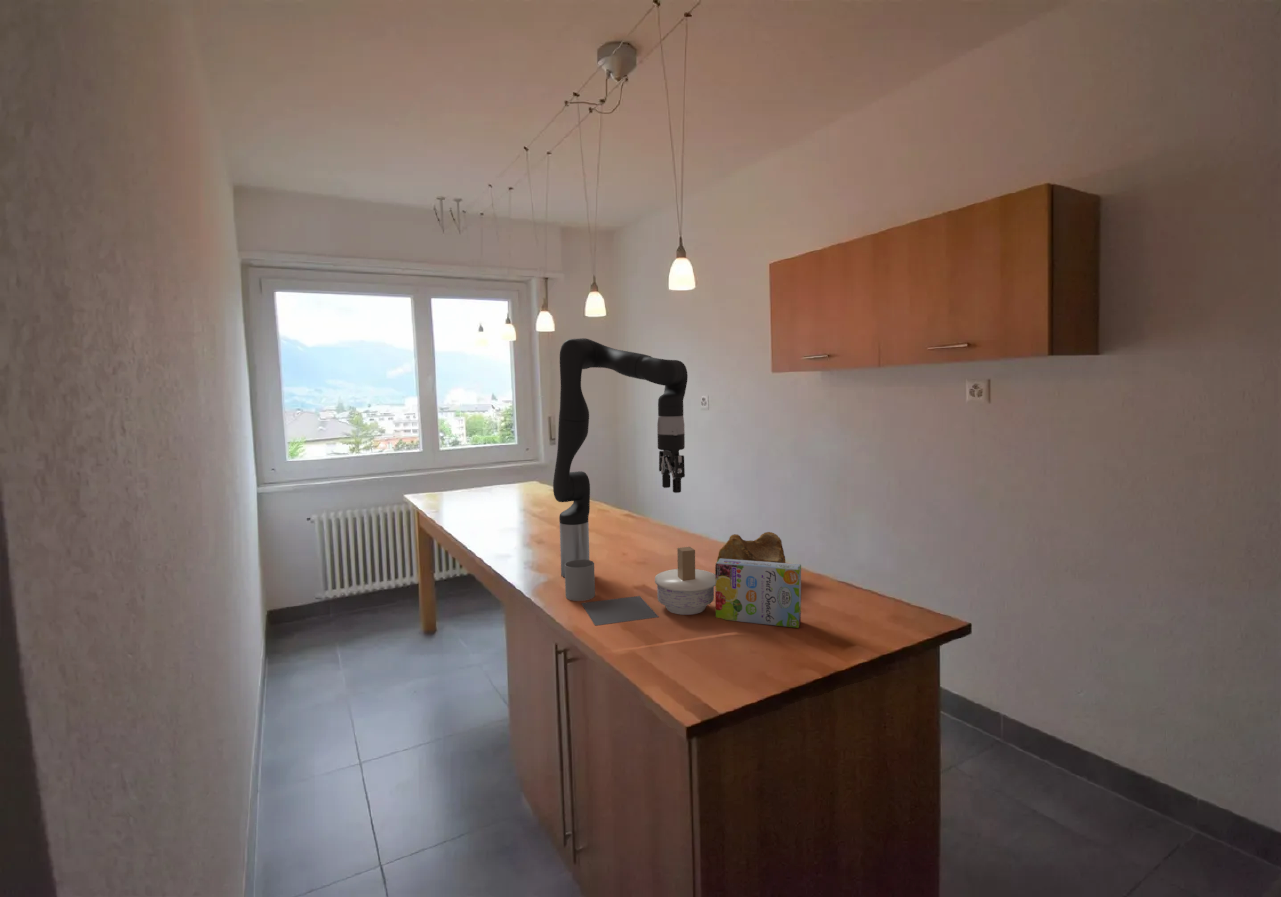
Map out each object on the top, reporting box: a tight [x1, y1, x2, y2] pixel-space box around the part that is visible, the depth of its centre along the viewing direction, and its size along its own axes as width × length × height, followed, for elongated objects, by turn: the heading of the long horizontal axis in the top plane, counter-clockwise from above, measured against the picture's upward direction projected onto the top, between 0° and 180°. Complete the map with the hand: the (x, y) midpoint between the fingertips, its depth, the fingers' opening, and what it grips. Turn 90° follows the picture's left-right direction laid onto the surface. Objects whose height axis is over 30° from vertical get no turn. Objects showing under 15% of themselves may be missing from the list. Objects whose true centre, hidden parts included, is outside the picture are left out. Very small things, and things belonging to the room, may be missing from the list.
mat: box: [580, 595, 660, 627], centre depth 165 cm, size 17×17×1 cm
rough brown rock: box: [716, 531, 786, 563], centre depth 185 cm, size 23×17×15 cm
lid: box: [654, 546, 715, 592], centre depth 165 cm, size 17×17×9 cm
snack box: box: [714, 558, 802, 629], centre depth 157 cm, size 21×6×15 cm, turn 70°
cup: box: [564, 559, 596, 602], centre depth 176 cm, size 8×8×10 cm
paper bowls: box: [656, 584, 715, 616], centre depth 166 cm, size 15×15×8 cm
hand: (671, 489), depth 172 cm, fingers open, 8 cm apart
